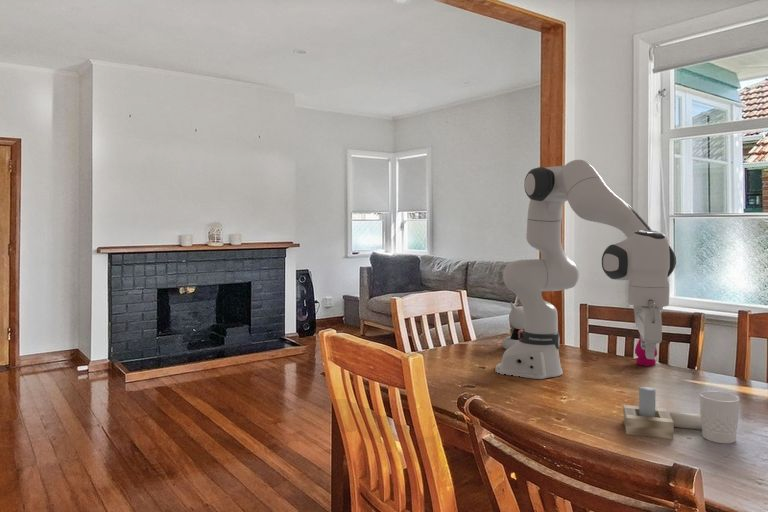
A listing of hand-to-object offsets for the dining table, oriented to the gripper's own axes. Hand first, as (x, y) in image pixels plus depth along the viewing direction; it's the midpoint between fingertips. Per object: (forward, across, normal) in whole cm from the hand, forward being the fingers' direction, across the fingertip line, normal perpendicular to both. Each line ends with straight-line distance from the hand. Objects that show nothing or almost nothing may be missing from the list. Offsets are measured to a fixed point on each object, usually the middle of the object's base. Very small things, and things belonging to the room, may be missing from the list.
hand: (647, 353), depth 130 cm
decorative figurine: (+20, +79, +38) cm, 90 cm away
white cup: (+19, -2, -15) cm, 24 cm away
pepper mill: (+20, +68, -7) cm, 71 cm away
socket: (+19, 0, 0) cm, 19 cm away
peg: (+19, 0, 0) cm, 19 cm away
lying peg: (+16, +3, -10) cm, 19 cm away
